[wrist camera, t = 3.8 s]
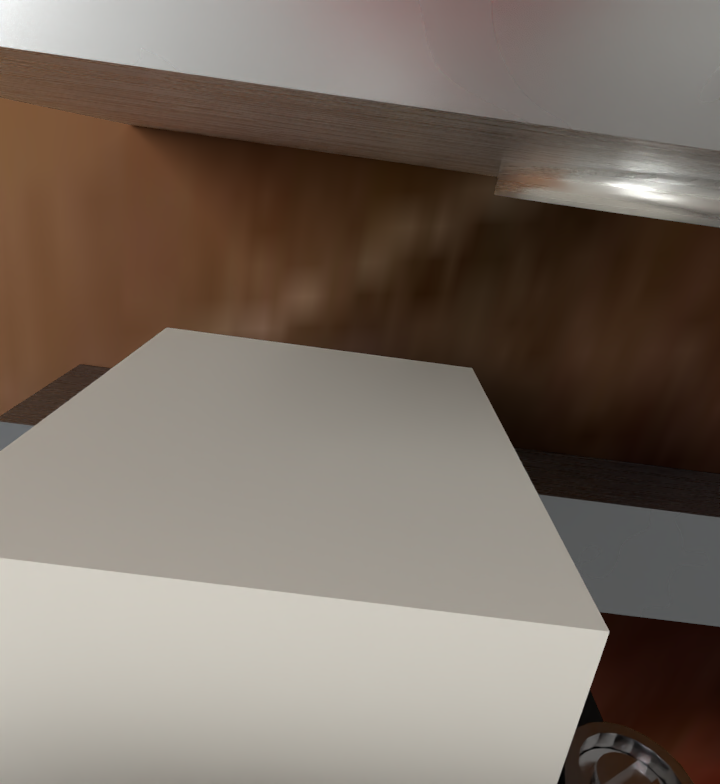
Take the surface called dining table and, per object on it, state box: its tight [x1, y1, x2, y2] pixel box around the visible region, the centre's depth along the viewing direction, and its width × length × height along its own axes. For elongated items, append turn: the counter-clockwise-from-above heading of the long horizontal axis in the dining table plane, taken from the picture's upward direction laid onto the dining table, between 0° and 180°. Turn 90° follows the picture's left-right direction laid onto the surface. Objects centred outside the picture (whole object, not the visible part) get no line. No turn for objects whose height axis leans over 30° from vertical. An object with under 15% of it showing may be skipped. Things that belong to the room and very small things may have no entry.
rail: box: [0, 364, 720, 627], centre depth 12 cm, size 20×4×3 cm, turn 82°
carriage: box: [0, 328, 610, 784], centre depth 9 cm, size 5×7×8 cm
